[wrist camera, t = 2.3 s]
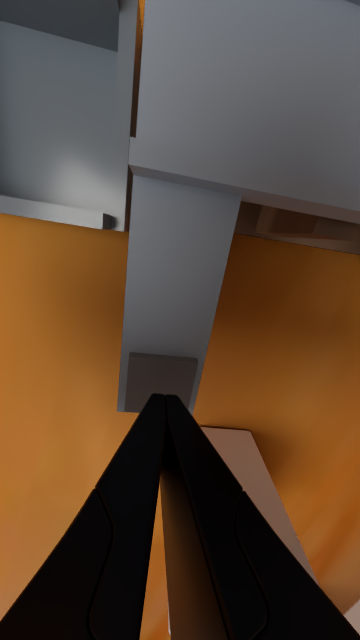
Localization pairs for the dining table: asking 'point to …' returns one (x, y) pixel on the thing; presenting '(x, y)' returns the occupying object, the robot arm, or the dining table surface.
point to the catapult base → (297, 228)
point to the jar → (256, 485)
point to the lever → (227, 160)
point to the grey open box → (69, 109)
